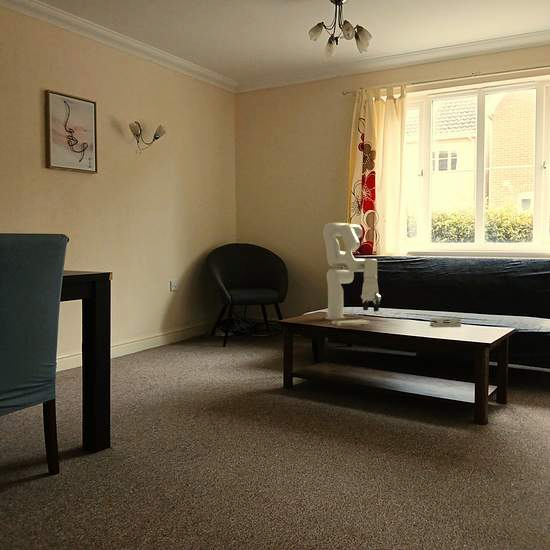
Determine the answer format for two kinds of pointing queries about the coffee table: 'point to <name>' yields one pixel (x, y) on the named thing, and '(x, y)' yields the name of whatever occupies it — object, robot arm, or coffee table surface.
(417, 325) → the coffee table surface
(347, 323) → the cabinet panel
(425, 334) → the coffee table surface
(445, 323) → the grey rounded slab
